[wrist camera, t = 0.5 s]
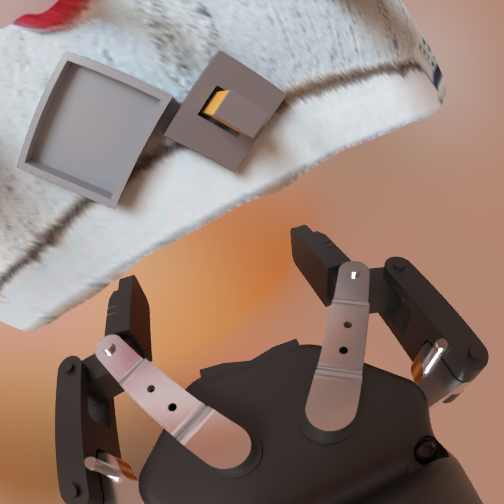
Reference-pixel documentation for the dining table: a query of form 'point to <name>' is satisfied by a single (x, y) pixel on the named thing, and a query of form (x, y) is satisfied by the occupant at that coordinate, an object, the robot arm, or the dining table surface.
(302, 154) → the dining table surface
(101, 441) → the robot arm
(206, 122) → the socket plate
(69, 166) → the grey tray
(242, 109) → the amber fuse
